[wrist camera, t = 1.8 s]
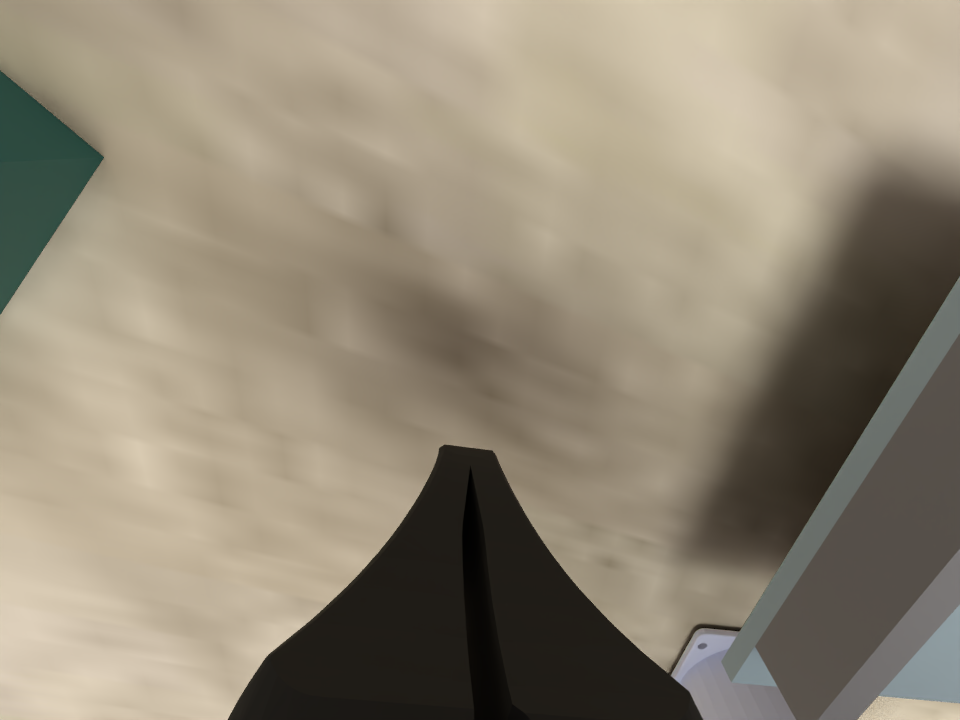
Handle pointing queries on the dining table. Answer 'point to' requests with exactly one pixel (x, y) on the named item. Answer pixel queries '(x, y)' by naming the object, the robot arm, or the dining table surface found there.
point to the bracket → (34, 180)
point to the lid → (874, 559)
